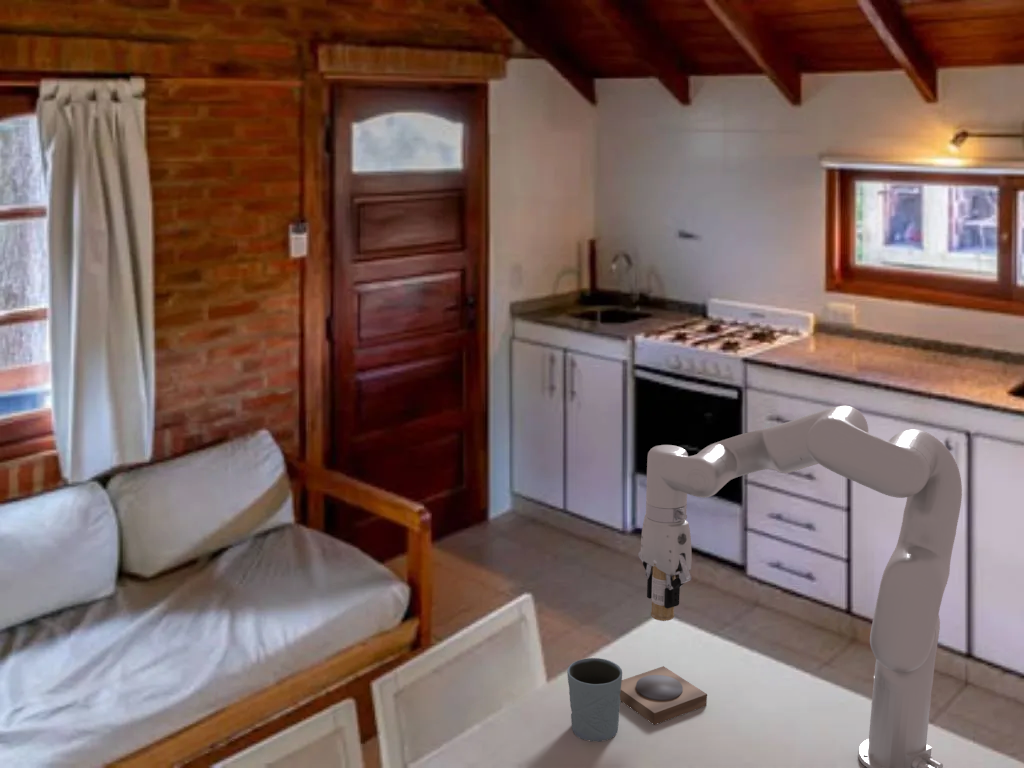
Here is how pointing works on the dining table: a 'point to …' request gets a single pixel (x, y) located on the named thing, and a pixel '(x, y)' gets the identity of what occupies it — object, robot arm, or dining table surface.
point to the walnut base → (661, 695)
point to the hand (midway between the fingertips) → (662, 600)
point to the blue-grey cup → (594, 698)
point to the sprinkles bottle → (660, 596)
